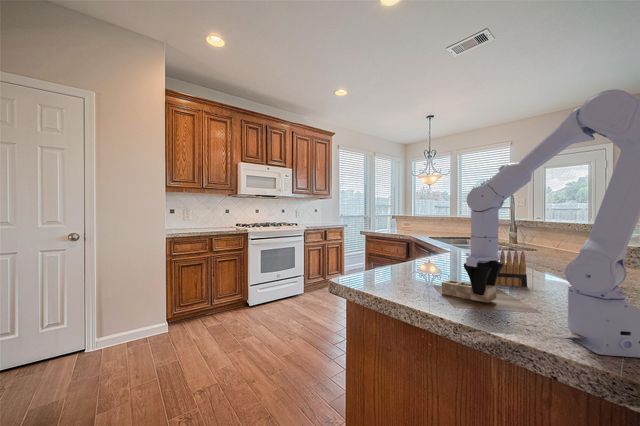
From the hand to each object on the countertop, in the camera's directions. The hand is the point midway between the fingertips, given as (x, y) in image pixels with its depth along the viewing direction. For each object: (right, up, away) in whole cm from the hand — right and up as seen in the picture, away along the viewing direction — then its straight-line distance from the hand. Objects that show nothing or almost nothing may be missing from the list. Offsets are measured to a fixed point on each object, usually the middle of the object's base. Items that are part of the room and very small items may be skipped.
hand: (483, 292), depth 63 cm
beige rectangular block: (-2, -2, +3) cm, 4 cm away
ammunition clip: (+16, -4, +15) cm, 23 cm away
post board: (+1, -4, +3) cm, 5 cm away
